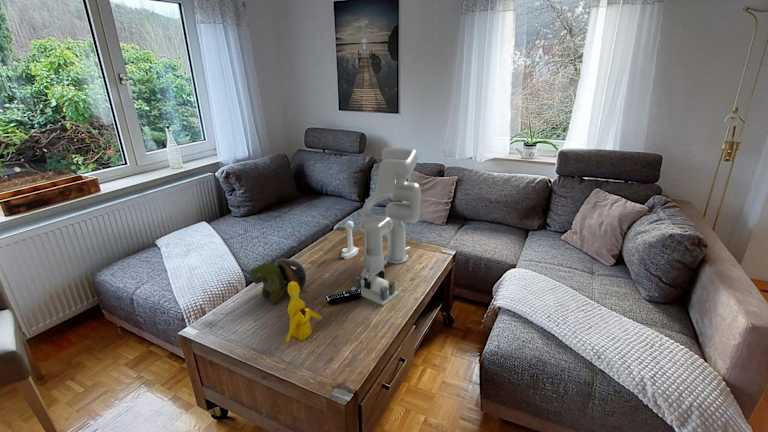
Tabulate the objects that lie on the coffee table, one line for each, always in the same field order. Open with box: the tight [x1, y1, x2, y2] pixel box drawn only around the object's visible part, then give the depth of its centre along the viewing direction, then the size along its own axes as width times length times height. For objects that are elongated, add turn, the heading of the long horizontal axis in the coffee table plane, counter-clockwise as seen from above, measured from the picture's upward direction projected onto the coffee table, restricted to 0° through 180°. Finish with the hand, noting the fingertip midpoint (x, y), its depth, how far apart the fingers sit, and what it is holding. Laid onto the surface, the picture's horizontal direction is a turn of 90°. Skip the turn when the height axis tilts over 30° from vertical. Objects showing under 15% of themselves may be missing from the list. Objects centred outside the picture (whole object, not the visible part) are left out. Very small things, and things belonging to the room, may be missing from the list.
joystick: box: [340, 220, 359, 260], centre depth 200 cm, size 11×8×20 cm
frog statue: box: [250, 258, 307, 305], centre depth 163 cm, size 19×16×25 cm
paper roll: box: [361, 273, 390, 294], centre depth 166 cm, size 7×15×7 cm, turn 52°
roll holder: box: [350, 276, 400, 307], centre depth 167 cm, size 11×19×6 cm, turn 52°
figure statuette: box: [285, 281, 323, 343], centre depth 138 cm, size 18×8×22 cm, turn 144°
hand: (374, 283), depth 166 cm, fingers open, 9 cm apart
